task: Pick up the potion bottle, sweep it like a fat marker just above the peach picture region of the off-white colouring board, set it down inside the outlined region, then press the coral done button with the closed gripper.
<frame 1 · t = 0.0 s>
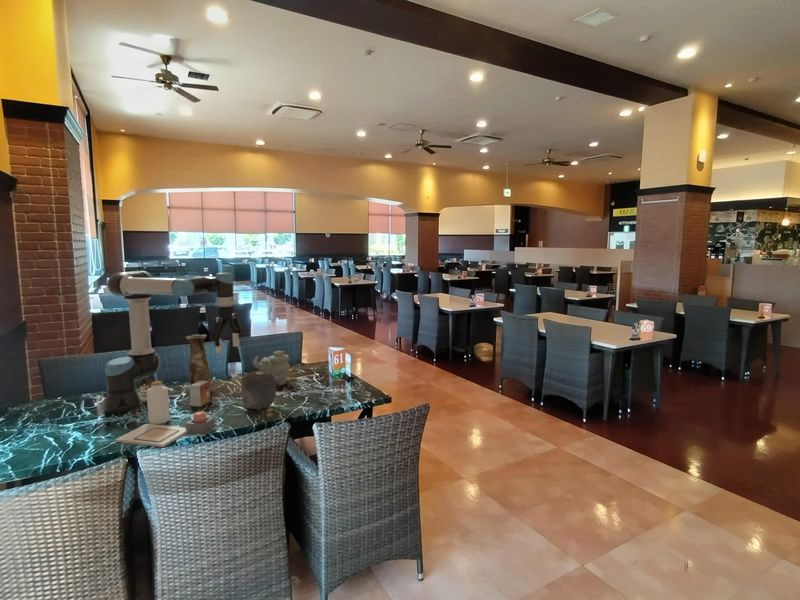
hand: (227, 349, 215), 28 cm above the table, fingers open, 13 cm apart
button housing: (200, 429, 191), on the table
colouring board: (154, 435, 184), on the table
cup: (260, 408, 215), on the table
teapot: (272, 383, 254), on the table
small box: (200, 404, 222), on the table
done button: (199, 418, 190), point 5 cm above the table, slide at 0.0 cm
vase: (200, 391, 241), on the table
potion bottle: (159, 422, 199), on the table
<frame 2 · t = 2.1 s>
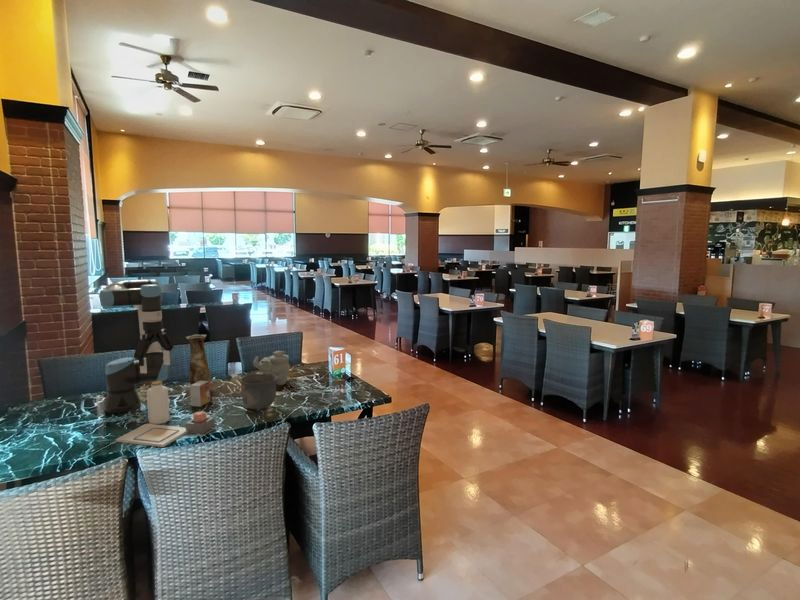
hand: (155, 368, 196), 24 cm above the table, fingers open, 13 cm apart
nothing on the table moved.
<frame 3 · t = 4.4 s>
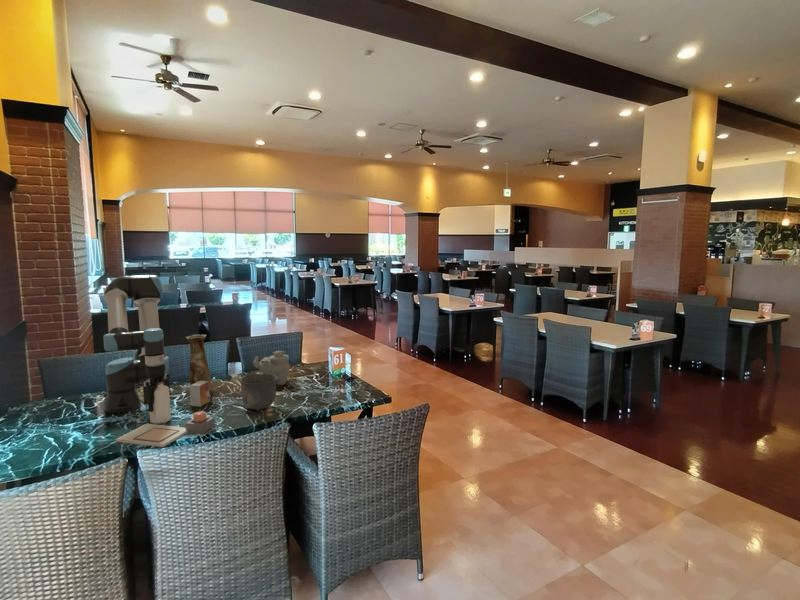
hand: (158, 415, 198), 3 cm above the table, fingers open, 5 cm apart
potion bottle: (160, 421, 200), on the table, touching gripper, hand
everything else where it was.
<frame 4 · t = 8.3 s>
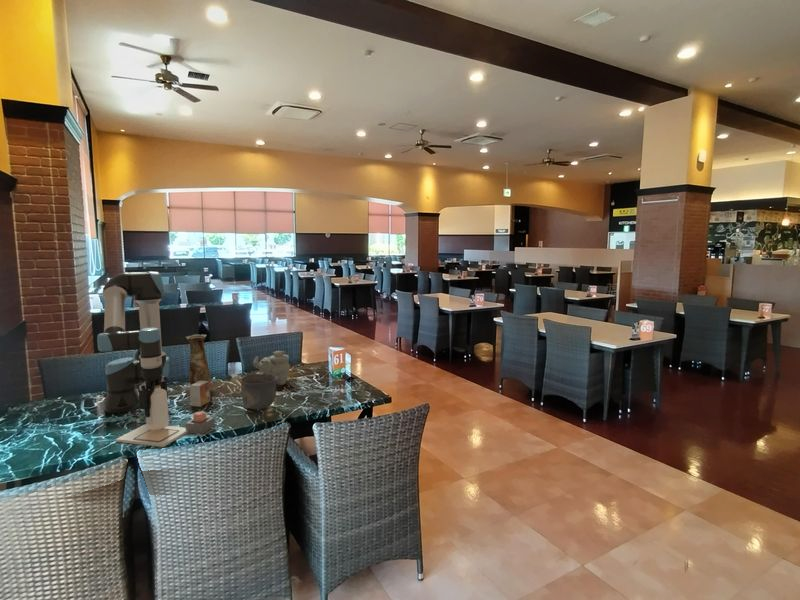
hand: (155, 420, 185), 6 cm above the table
potion bottle: (158, 427, 187), point 2 cm above the table, touching gripper, hand
everything else where it was.
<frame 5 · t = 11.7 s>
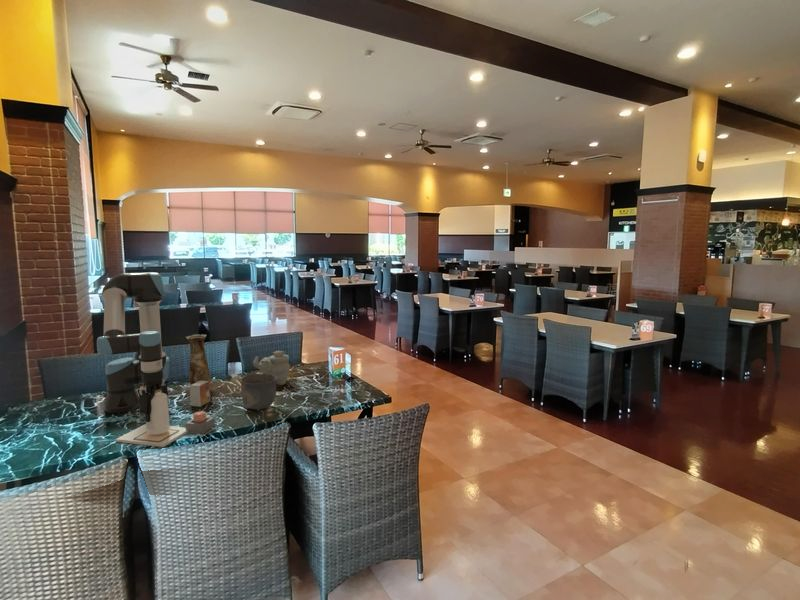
hand: (156, 425, 182), 5 cm above the table
potion bottle: (158, 431, 184), point 2 cm above the table, touching gripper, hand
everything else where it was.
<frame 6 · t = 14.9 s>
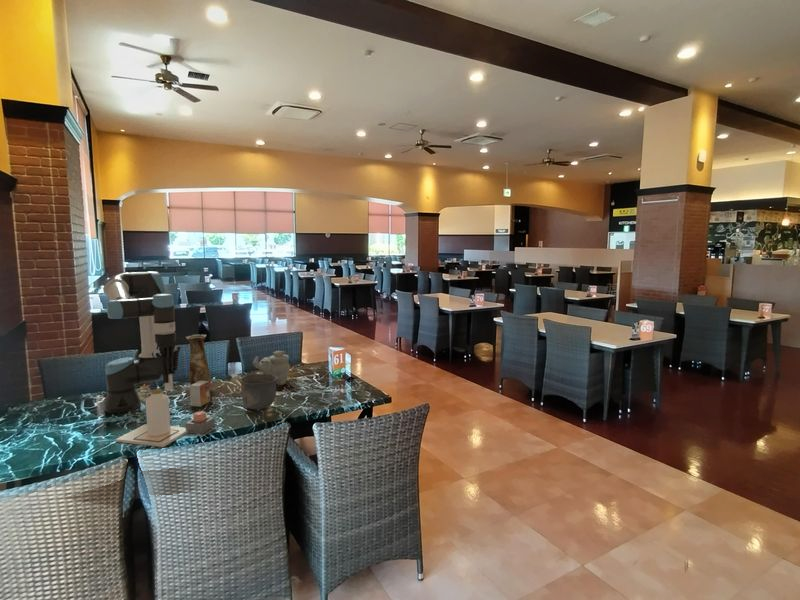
hand: (169, 389, 183), 19 cm above the table, fingers closed
potion bottle: (159, 433, 184), point 1 cm above the table, touching colouring board
everything else where it was.
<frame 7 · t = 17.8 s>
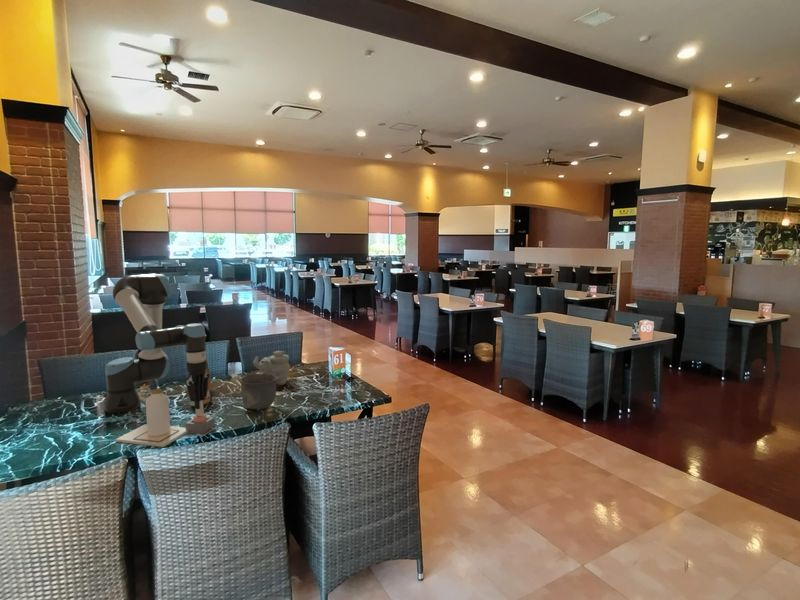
hand: (199, 415, 190), 6 cm above the table, fingers closed
done button: (199, 420, 190), point 4 cm above the table, slide at 1.1 cm, touching gripper
everything else where it was.
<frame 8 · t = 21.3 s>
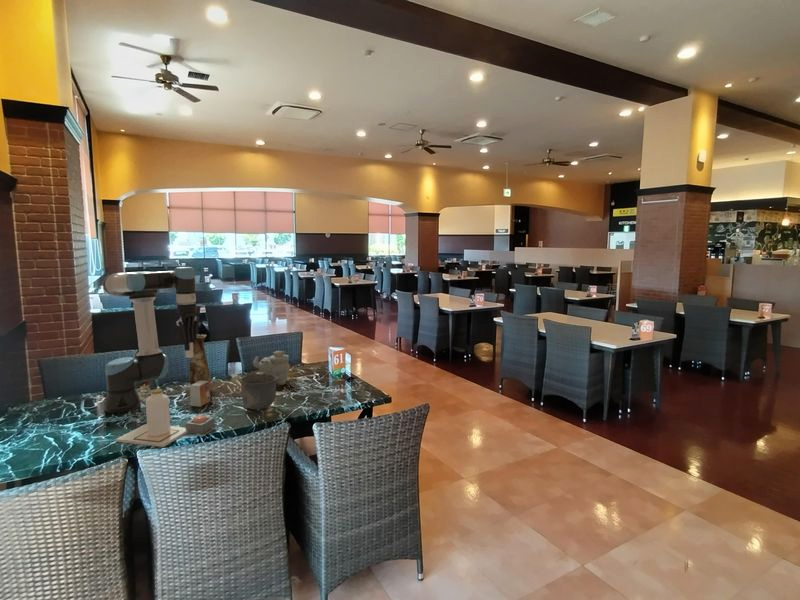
hand: (189, 357, 195), 29 cm above the table, fingers closed
done button: (200, 422, 191), point 3 cm above the table, slide at 1.8 cm
everything else where it was.
at the end: potion bottle inside the target area (1.6 cm from its centre), point 1.0 cm above the table; potion bottle tilted 0°; done button slide at 1.8 cm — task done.
